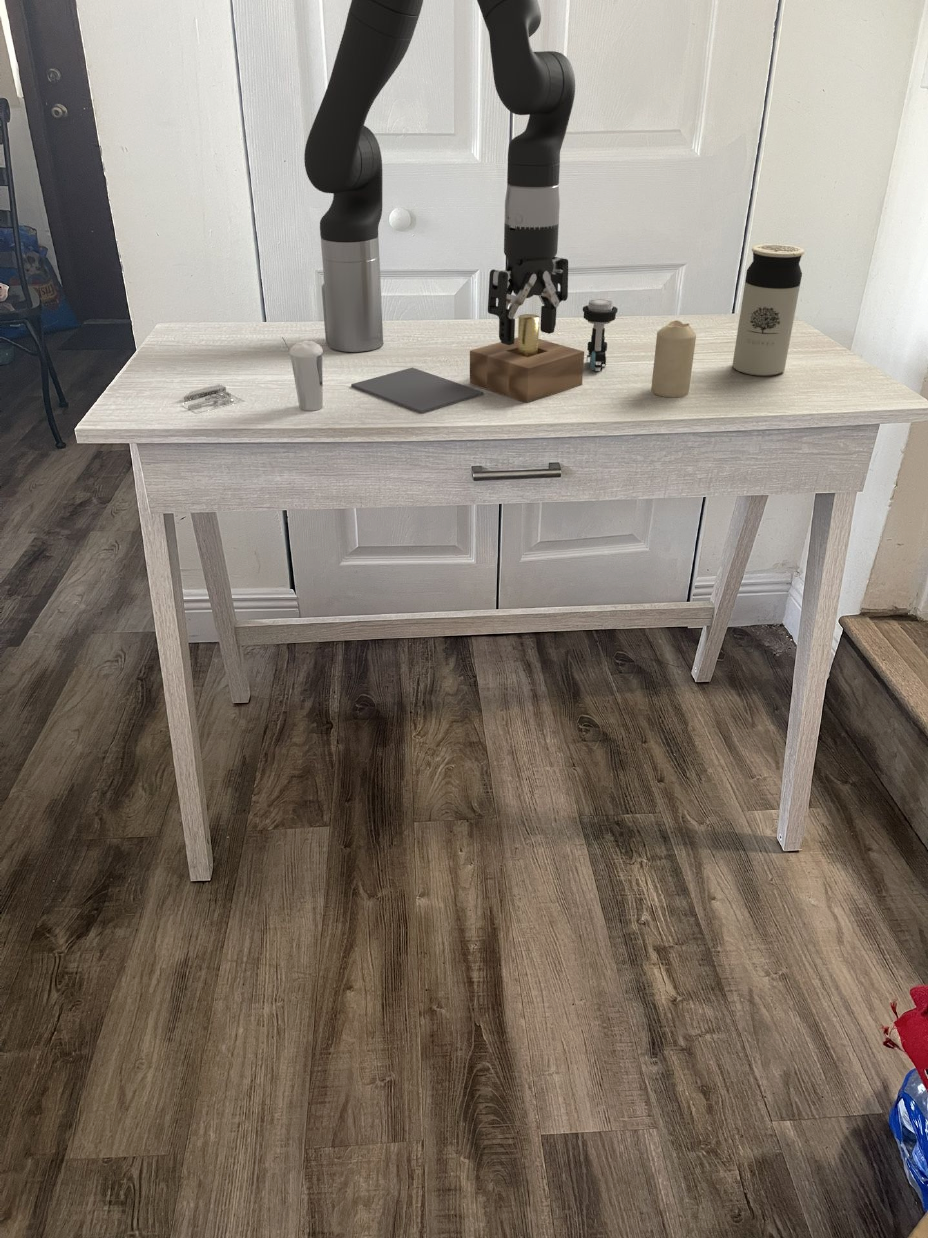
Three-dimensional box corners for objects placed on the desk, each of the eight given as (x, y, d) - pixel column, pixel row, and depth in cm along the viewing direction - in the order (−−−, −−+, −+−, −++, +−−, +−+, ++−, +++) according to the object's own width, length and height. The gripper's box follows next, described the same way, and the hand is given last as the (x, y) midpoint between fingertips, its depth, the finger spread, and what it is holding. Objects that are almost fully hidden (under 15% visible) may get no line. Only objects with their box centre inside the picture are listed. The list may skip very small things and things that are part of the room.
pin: (512, 383, 143) (514, 316, 137) (526, 379, 144) (528, 312, 139) (526, 388, 141) (529, 320, 135) (540, 384, 142) (543, 316, 137)
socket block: (469, 383, 143) (469, 350, 140) (524, 366, 150) (525, 335, 147) (527, 402, 135) (528, 368, 133) (582, 384, 142) (584, 351, 140)
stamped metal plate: (221, 393, 141) (220, 383, 140) (246, 405, 136) (244, 395, 136) (173, 405, 136) (171, 395, 135) (196, 417, 132) (195, 407, 131)
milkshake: (290, 402, 135) (283, 332, 130) (327, 401, 136) (322, 331, 130) (287, 413, 132) (280, 341, 126) (326, 412, 132) (320, 340, 127)
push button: (614, 374, 146) (619, 308, 141) (579, 373, 147) (584, 307, 141) (611, 361, 152) (617, 297, 147) (578, 360, 152) (582, 297, 147)
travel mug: (743, 358, 153) (761, 241, 144) (791, 367, 149) (813, 247, 140) (724, 370, 148) (742, 249, 138) (773, 380, 144) (795, 256, 134)
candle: (648, 385, 142) (655, 317, 137) (685, 385, 142) (694, 318, 136) (653, 397, 137) (661, 328, 132) (691, 397, 137) (700, 328, 132)
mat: (351, 386, 141) (351, 384, 141) (412, 369, 148) (412, 367, 148) (421, 413, 131) (421, 410, 131) (483, 394, 138) (483, 391, 138)
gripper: (546, 210, 137) (541, 324, 145) (475, 222, 128) (474, 342, 137) (586, 217, 132) (578, 334, 141) (515, 229, 124) (511, 353, 132)
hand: (527, 337), depth 139 cm, fingers open, 8 cm apart
